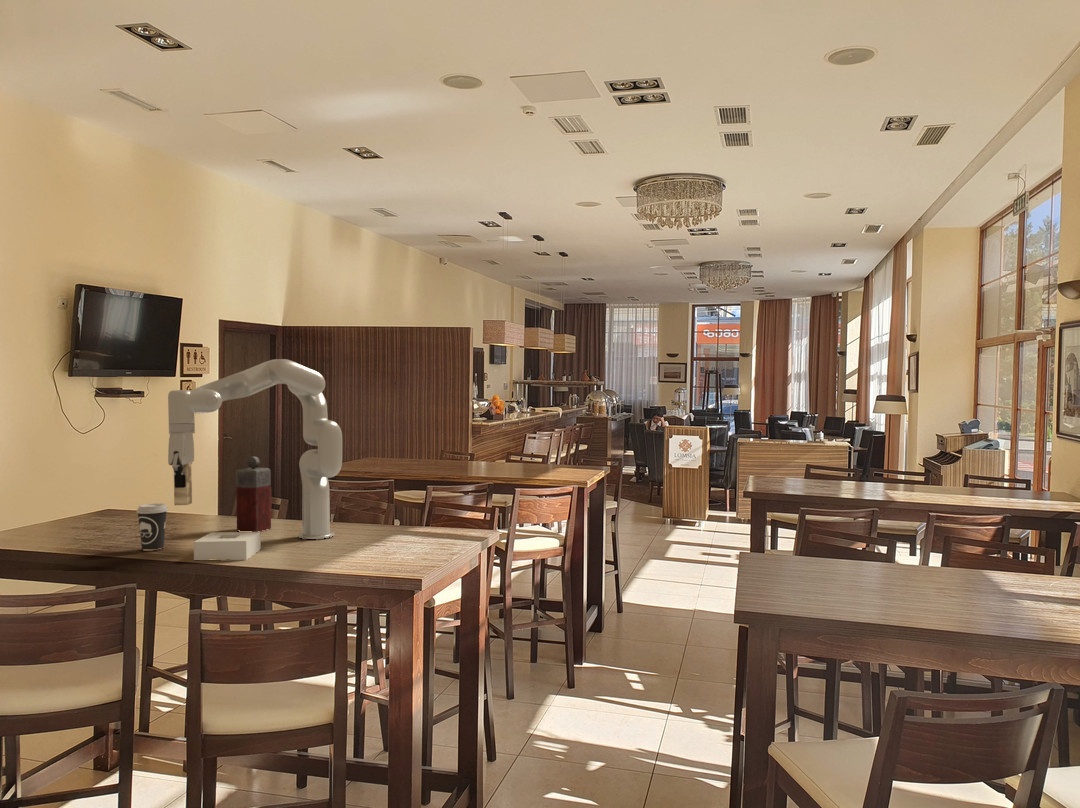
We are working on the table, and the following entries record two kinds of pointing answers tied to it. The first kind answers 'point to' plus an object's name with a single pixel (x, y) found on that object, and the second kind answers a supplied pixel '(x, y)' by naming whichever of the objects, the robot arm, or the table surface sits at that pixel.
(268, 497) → the red grey canister
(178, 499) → the peg
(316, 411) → the robot arm
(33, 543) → the table surface
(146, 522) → the coffee cup
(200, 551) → the block
